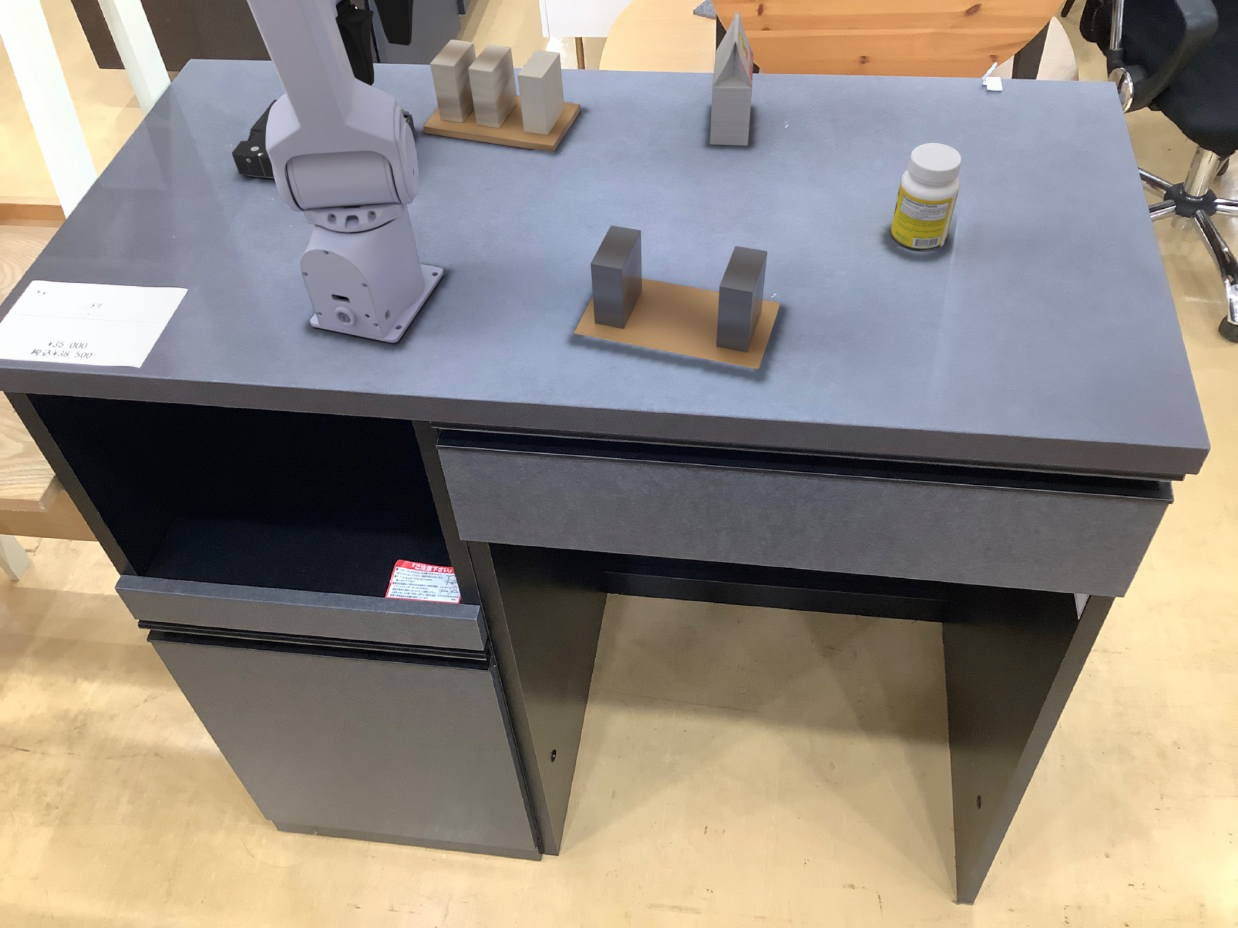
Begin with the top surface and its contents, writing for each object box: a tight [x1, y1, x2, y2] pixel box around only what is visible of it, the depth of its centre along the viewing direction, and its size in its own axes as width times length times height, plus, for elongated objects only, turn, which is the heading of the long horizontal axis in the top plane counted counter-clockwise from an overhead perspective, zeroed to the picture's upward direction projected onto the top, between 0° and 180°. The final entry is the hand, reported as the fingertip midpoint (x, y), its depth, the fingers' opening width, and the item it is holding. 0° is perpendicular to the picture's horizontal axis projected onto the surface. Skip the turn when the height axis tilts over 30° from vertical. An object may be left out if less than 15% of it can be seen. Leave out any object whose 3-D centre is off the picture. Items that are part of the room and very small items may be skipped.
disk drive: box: [231, 99, 416, 179], centre depth 97 cm, size 10×3×15 cm
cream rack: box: [422, 39, 581, 153], centre depth 98 cm, size 8×14×7 cm, turn 72°
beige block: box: [516, 49, 565, 135], centre depth 97 cm, size 5×2×6 cm, turn 162°
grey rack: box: [573, 224, 781, 370], centre depth 77 cm, size 8×15×7 cm, turn 72°
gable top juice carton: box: [709, 11, 754, 146], centre depth 95 cm, size 4×7×10 cm, turn 174°
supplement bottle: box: [890, 142, 962, 252], centre depth 82 cm, size 5×5×8 cm
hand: (381, 62), depth 90 cm, fingers open, 7 cm apart
